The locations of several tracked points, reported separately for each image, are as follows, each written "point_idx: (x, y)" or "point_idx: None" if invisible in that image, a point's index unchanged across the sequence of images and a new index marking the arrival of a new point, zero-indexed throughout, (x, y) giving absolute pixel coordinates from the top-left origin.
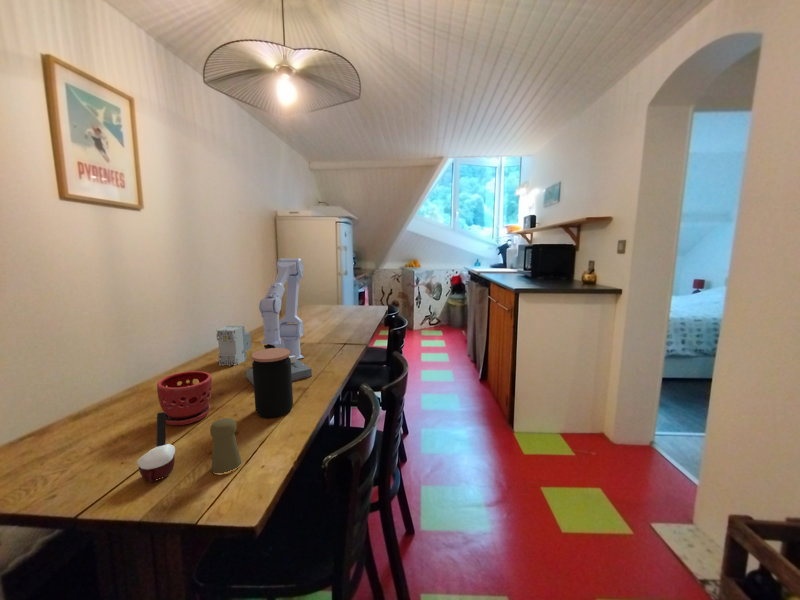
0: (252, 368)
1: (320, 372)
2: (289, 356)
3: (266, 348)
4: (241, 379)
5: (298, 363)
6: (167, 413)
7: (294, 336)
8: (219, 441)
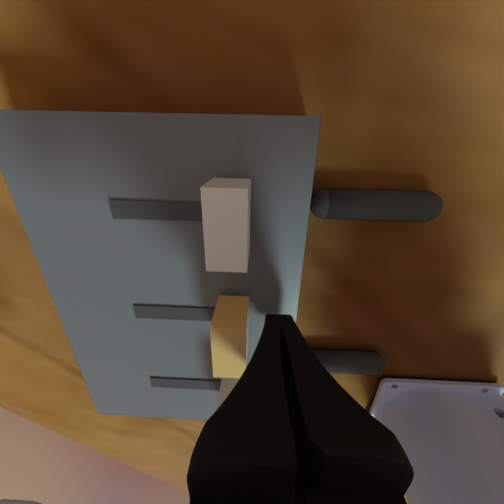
0: (403, 199)
1: None
2: None
3: (257, 433)
4: (296, 74)
5: (211, 405)
6: None
7: None
8: None
